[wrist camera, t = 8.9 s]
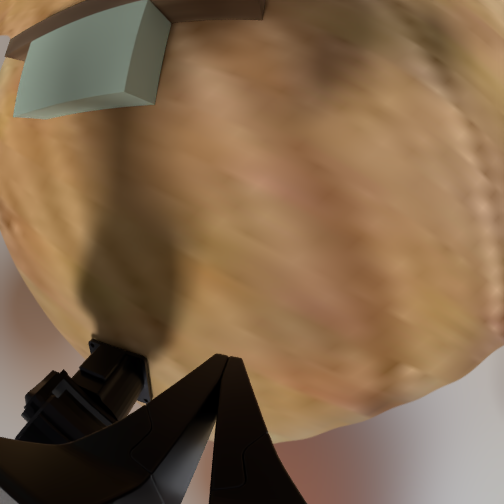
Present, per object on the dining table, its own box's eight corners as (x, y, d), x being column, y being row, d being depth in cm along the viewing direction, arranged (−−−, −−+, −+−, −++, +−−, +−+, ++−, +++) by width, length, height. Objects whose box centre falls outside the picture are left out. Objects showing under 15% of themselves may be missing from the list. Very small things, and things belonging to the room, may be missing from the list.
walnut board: (262, 20, 14) (256, -10, 10) (30, 62, 16) (4, 56, 12) (265, 1, 13) (260, -30, 10) (35, 46, 15) (10, 39, 11)
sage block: (156, 105, 17) (123, 91, 13) (47, 119, 18) (13, 117, 13) (172, 25, 15) (148, -2, 10) (62, 52, 16) (31, 41, 11)
